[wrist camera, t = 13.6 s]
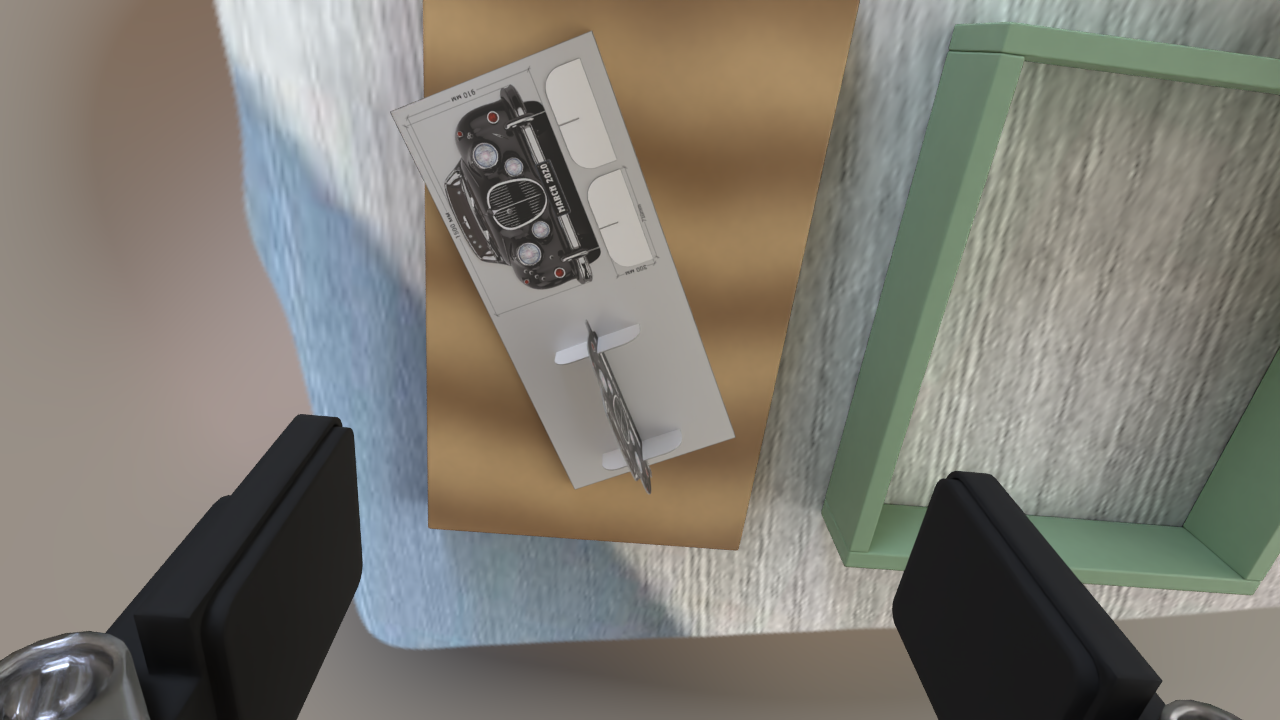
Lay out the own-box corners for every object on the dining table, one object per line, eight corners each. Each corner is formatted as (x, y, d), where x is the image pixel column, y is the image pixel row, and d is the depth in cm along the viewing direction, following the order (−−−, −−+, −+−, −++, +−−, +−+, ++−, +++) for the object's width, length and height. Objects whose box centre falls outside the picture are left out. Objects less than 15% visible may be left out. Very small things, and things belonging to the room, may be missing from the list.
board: (433, -93, 21) (420, -103, 20) (853, -34, 22) (869, -39, 21) (436, 506, 30) (427, 529, 29) (733, 528, 31) (738, 551, 30)
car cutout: (734, 431, 27) (755, 501, 23) (575, 483, 28) (568, 559, 24) (592, 30, 21) (587, 28, 17) (394, 110, 22) (343, 127, 18)
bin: (954, 24, 23) (1009, 21, 20) (1440, 90, 24) (1566, 98, 21) (820, 513, 31) (843, 567, 28) (1190, 541, 32) (1253, 596, 29)
